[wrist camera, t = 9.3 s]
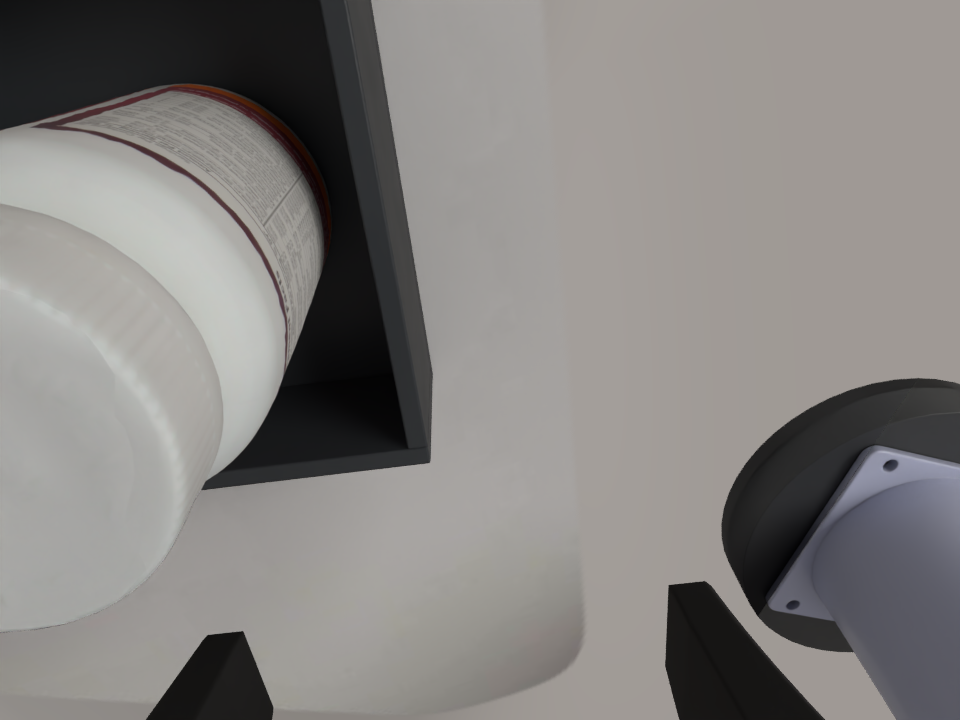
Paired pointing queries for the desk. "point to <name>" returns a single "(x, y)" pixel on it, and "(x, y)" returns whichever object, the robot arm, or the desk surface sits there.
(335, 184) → the waste bin
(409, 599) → the desk surface
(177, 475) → the pill bottle
